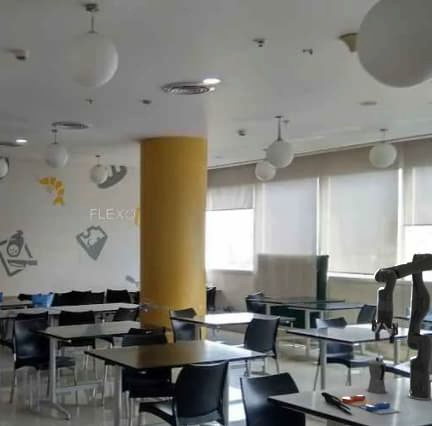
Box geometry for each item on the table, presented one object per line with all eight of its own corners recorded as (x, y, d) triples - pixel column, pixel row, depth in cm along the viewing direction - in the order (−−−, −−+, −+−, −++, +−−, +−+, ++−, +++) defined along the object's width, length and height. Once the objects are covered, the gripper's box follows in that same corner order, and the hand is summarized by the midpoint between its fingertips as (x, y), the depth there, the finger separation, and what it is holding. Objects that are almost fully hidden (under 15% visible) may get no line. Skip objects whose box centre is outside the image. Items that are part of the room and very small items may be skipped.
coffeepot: (363, 388, 338) (364, 355, 338) (380, 388, 337) (381, 355, 338) (374, 394, 322) (374, 360, 323) (392, 395, 322) (393, 361, 323)
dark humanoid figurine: (363, 399, 282) (334, 383, 306) (346, 405, 280) (319, 388, 305) (367, 416, 282) (338, 398, 307) (350, 422, 281) (322, 404, 305)
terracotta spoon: (360, 398, 311) (360, 393, 311) (368, 401, 306) (368, 396, 306) (339, 400, 305) (339, 395, 305) (347, 403, 300) (347, 398, 300)
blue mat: (378, 405, 300) (378, 404, 300) (398, 412, 289) (398, 411, 289) (359, 407, 295) (359, 406, 295) (380, 414, 284) (380, 413, 284)
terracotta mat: (352, 397, 314) (352, 396, 314) (374, 404, 302) (374, 403, 302) (335, 399, 309) (335, 398, 309) (356, 406, 297) (356, 405, 297)
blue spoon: (384, 406, 297) (384, 401, 297) (393, 409, 292) (393, 403, 292) (363, 408, 291) (363, 403, 291) (372, 411, 287) (372, 405, 287)
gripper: (402, 311, 303) (401, 344, 302) (378, 307, 316) (378, 339, 315) (391, 311, 300) (390, 344, 299) (368, 308, 313) (367, 340, 312)
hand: (384, 342), depth 307 cm, fingers open, 8 cm apart
